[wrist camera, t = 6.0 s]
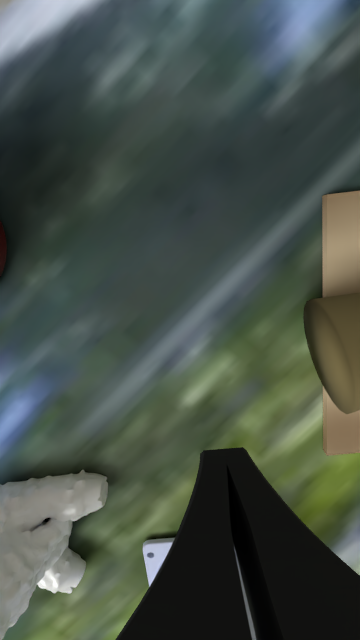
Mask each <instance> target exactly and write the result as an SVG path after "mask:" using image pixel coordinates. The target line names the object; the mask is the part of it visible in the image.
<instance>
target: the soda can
mask: <svg viewBox="0 0 360 640" xmlns="http://www.w3.org/2000/svg"><path fill="white" fill-rule="evenodd" d="M6 255H7V245H6V236H5V232H4V228H3V225H2V223H1V221H0V277H1V275H2V272H3V269H4V266H5V263H6Z"/></svg>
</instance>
